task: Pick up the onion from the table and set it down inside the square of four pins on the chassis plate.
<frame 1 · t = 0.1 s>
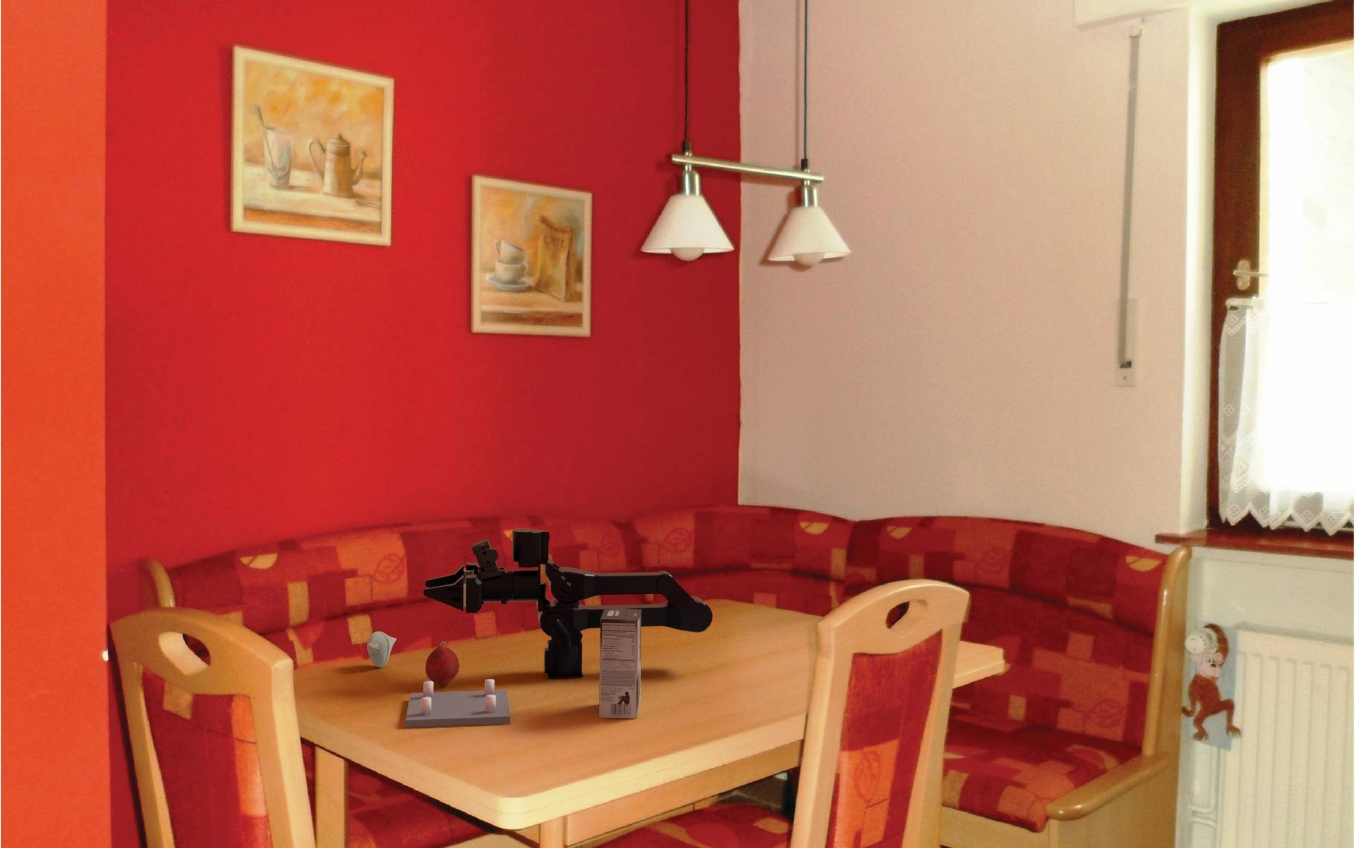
hand: (424, 587, 202), 17 cm above the table, tool horizontal, fingers open, 9 cm apart
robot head: (378, 668, 211), on the table
onion: (442, 688, 197), on the table
chassis plate: (458, 711, 182), on the table
coffee box: (619, 712, 184), on the table
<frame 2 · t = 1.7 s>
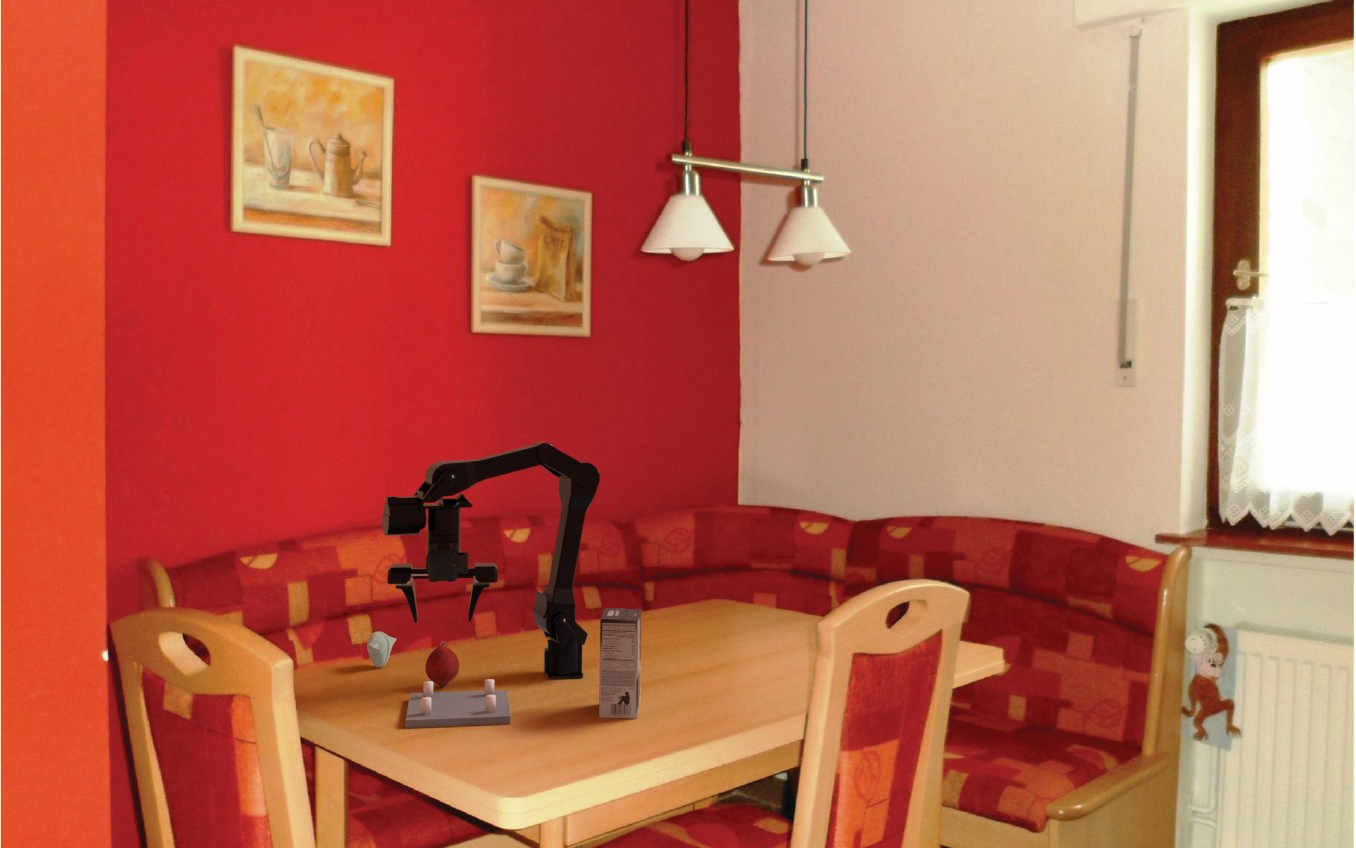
hand: (442, 622, 197), 11 cm above the table, tool pointing down, fingers open, 9 cm apart
nothing on the table moved.
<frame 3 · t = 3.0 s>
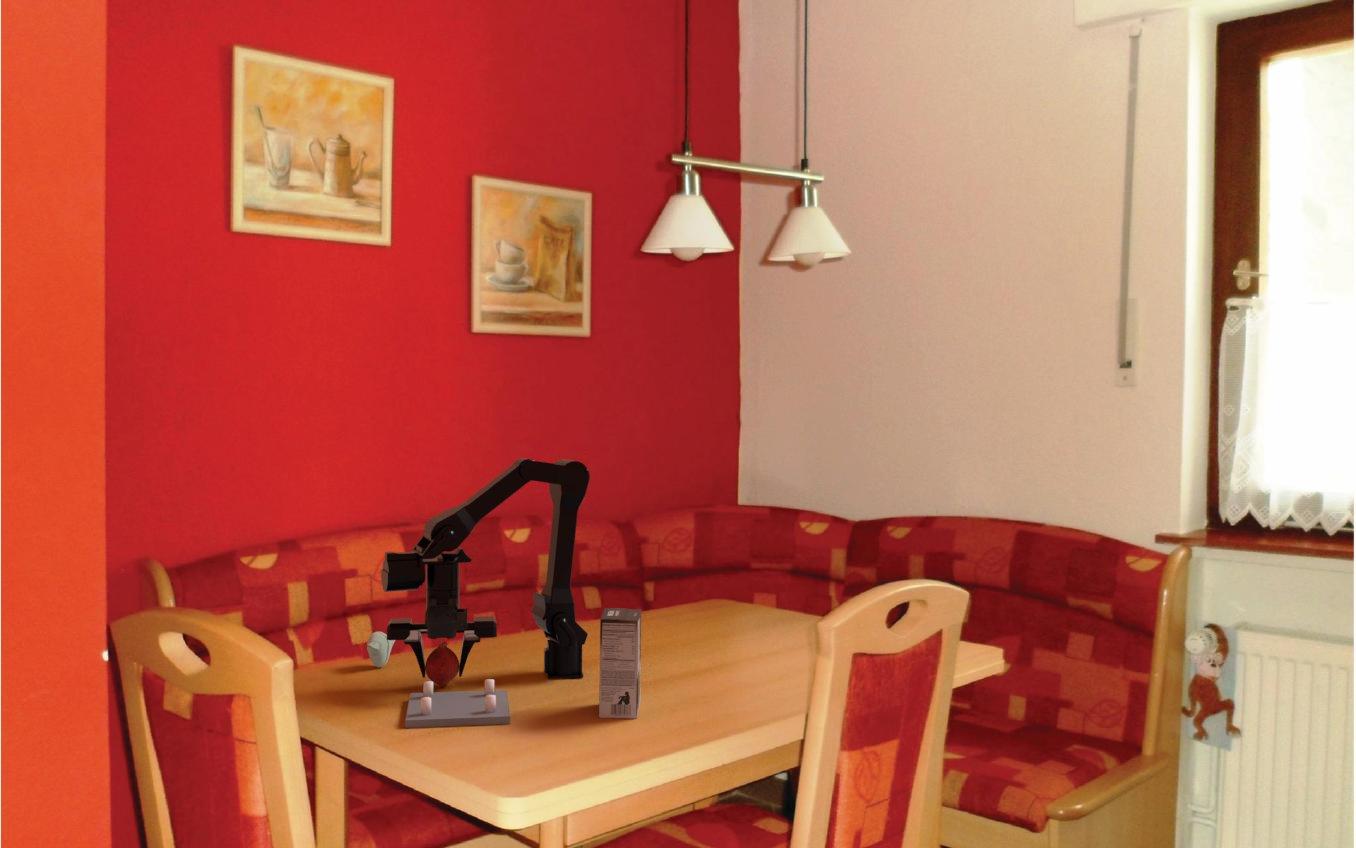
hand: (442, 676, 197), 2 cm above the table, tool pointing down, fingers closed on onion, 6 cm apart
onion: (442, 688, 197), on the table, touching gripper
everything else where it was.
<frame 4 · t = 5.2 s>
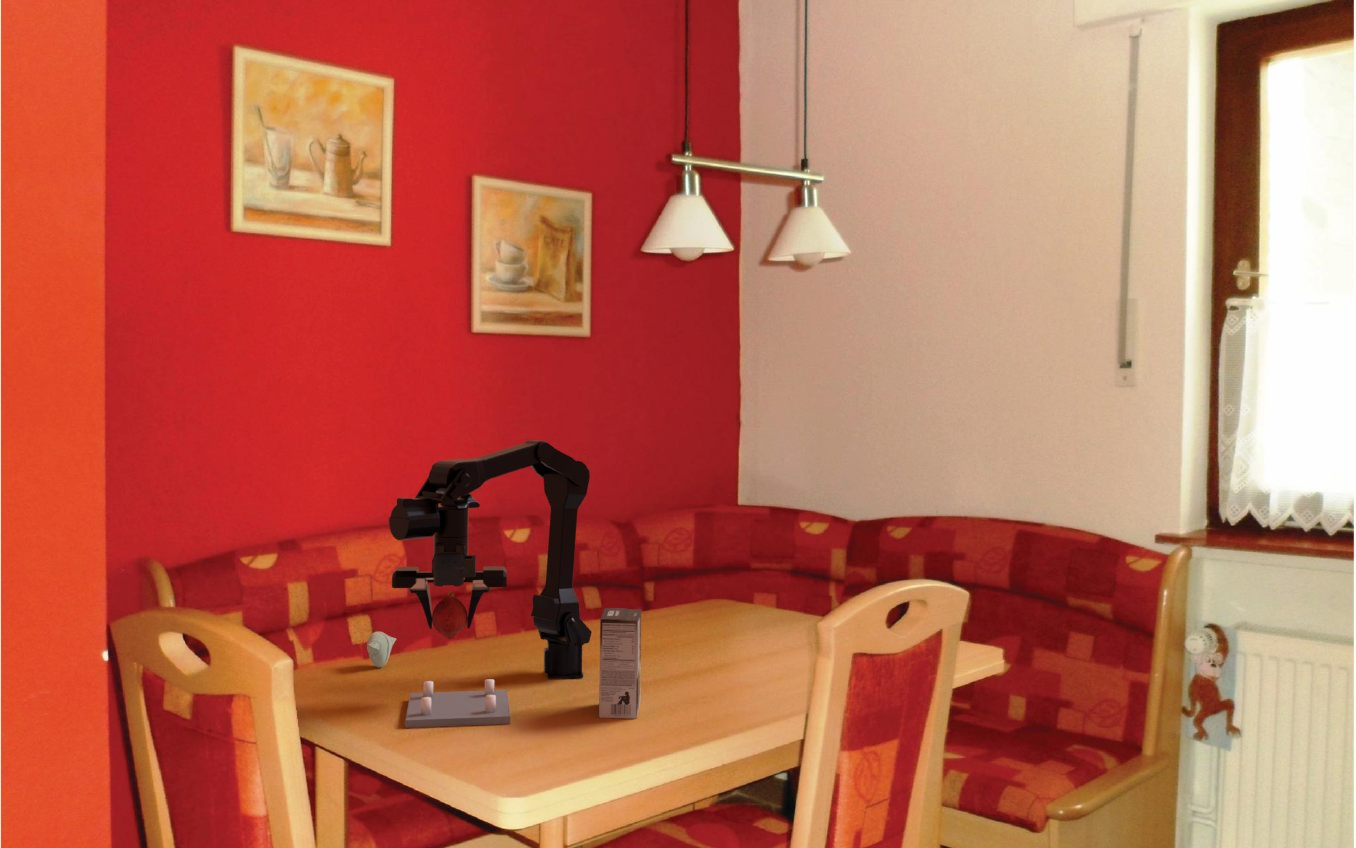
hand: (449, 628, 189), 12 cm above the table, tool pointing down, fingers closed on onion, 6 cm apart
onion: (449, 640, 189), point 10 cm above the table, touching gripper
everything else where it was.
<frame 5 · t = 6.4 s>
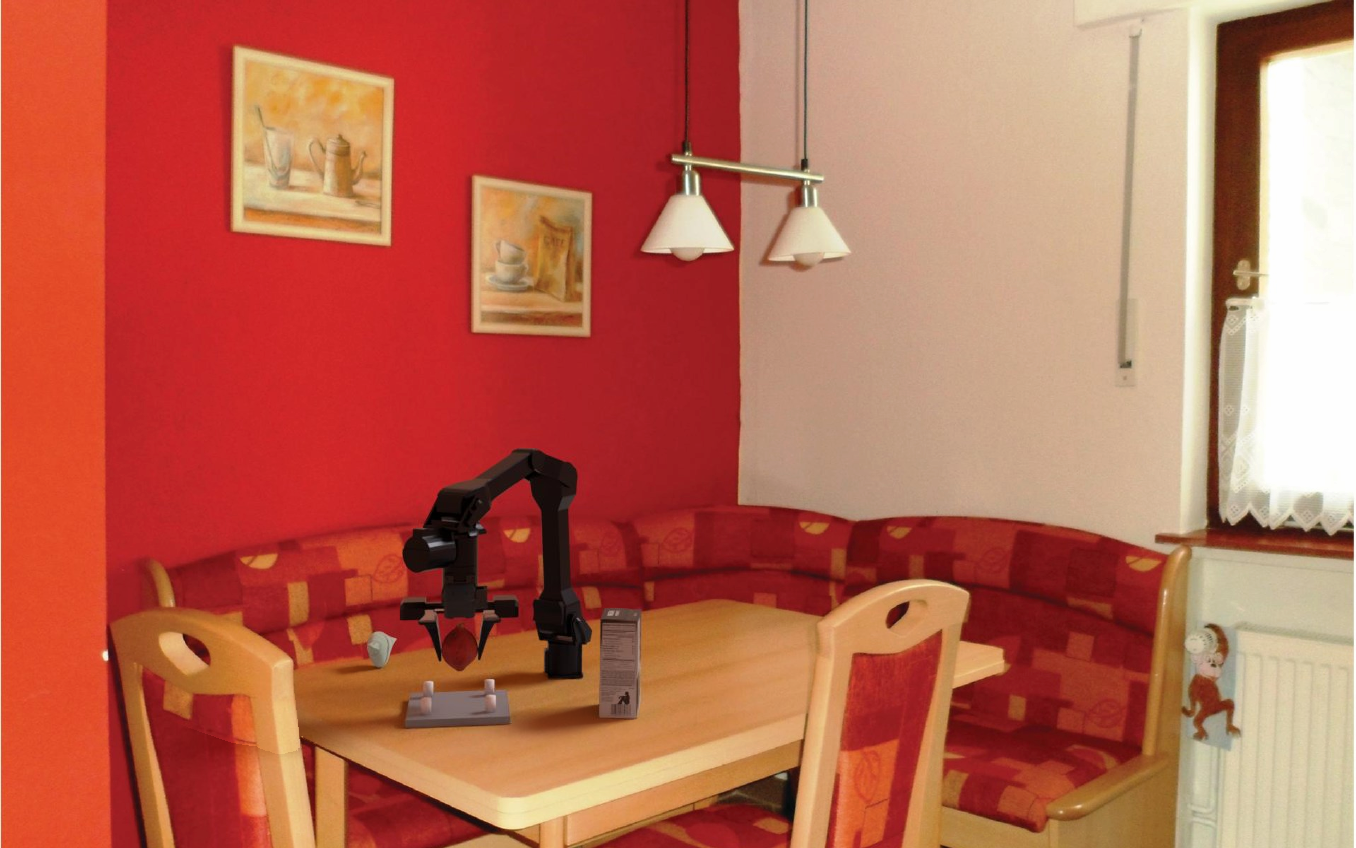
hand: (459, 660, 182), 8 cm above the table, tool pointing down, fingers closed on onion, 6 cm apart
onion: (459, 672, 182), point 6 cm above the table, touching gripper
everything else where it was.
when the fingers open (4 cm above the table, at t = 7.5 s): onion drops 1 cm, resting on chassis plate.
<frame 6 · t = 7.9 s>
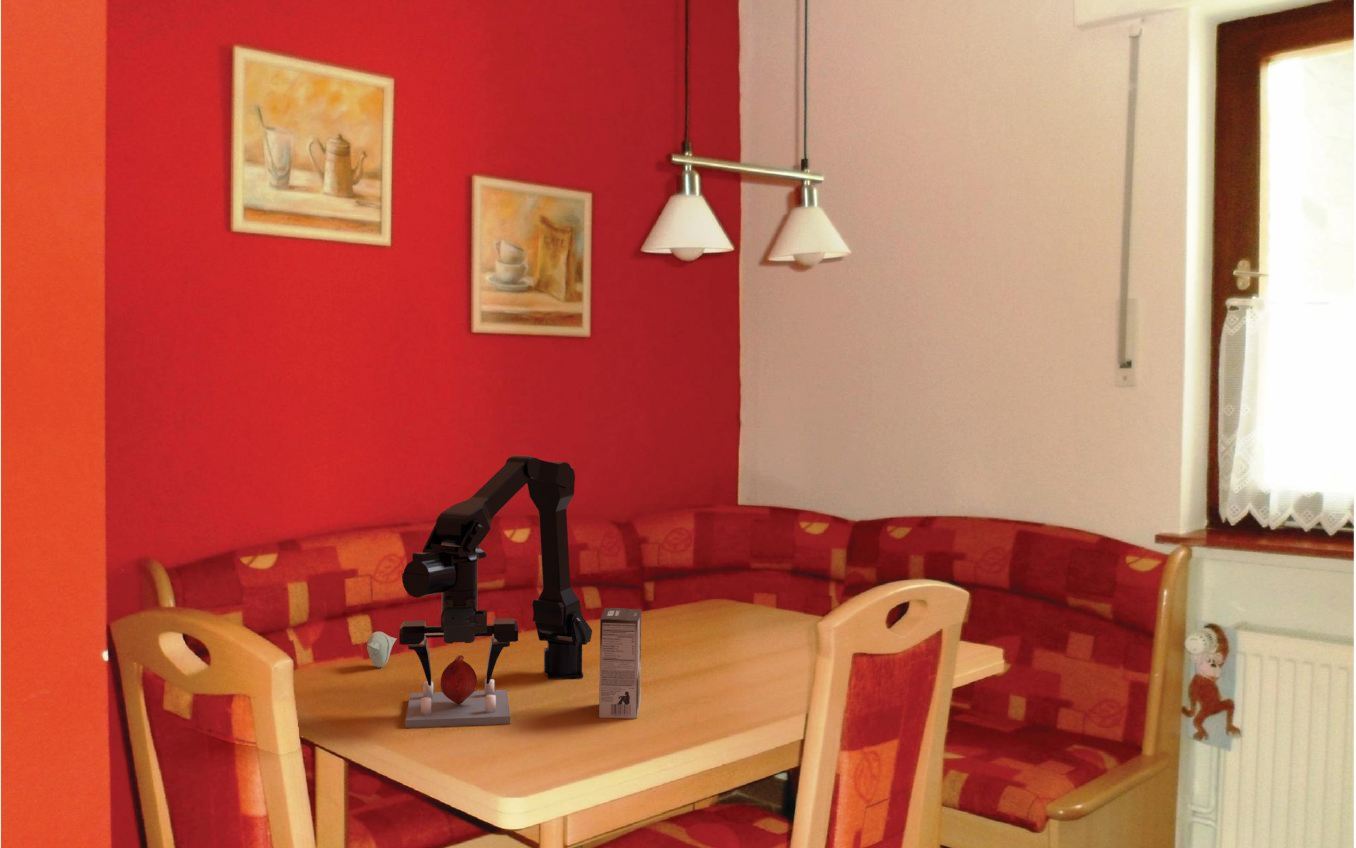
hand: (459, 684, 182), 4 cm above the table, tool pointing down, fingers open, 9 cm apart
onion: (458, 705, 182), point 1 cm above the table, touching chassis plate
everything else where it was.
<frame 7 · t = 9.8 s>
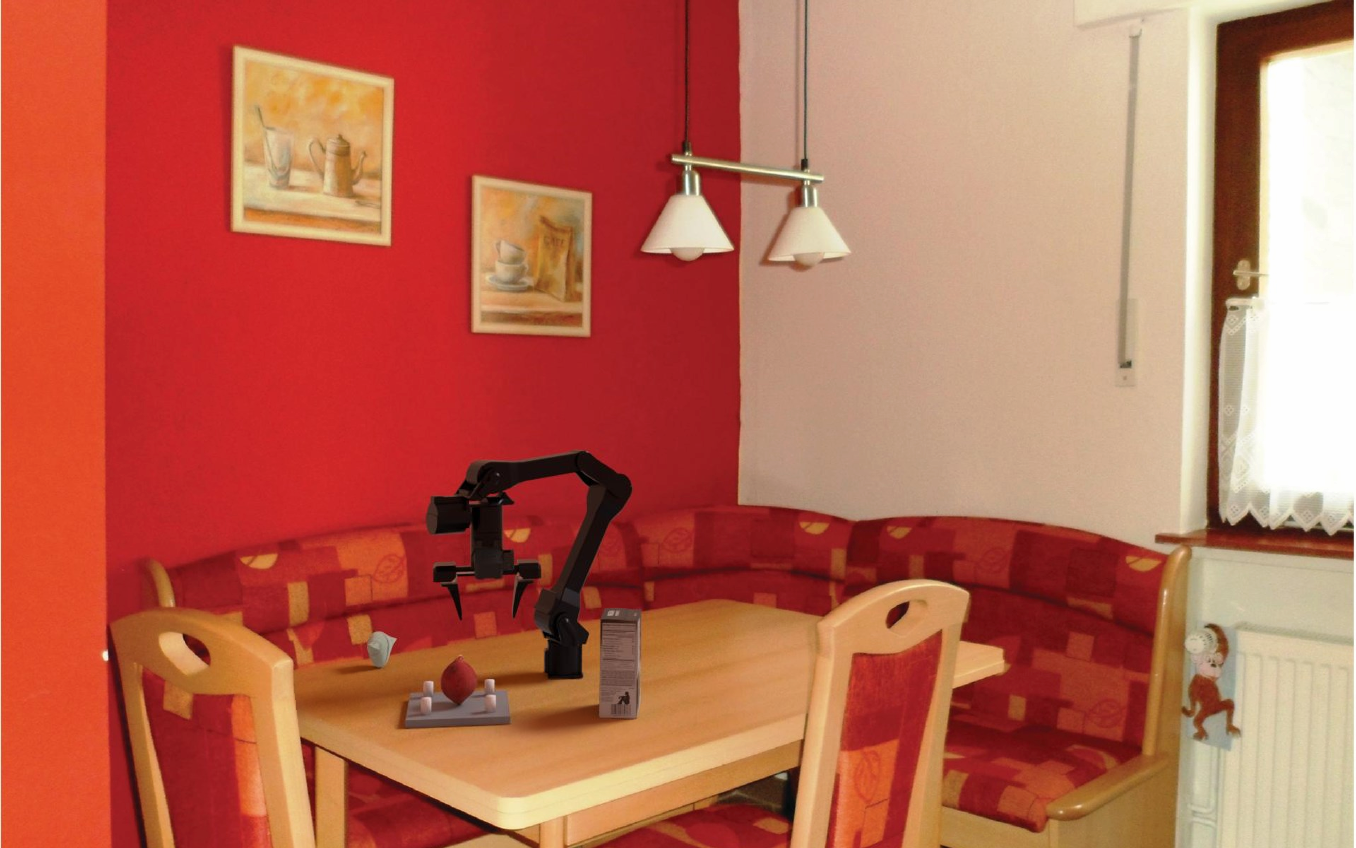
hand: (487, 619, 199), 12 cm above the table, tool pointing down, fingers open, 9 cm apart
nothing on the table moved.
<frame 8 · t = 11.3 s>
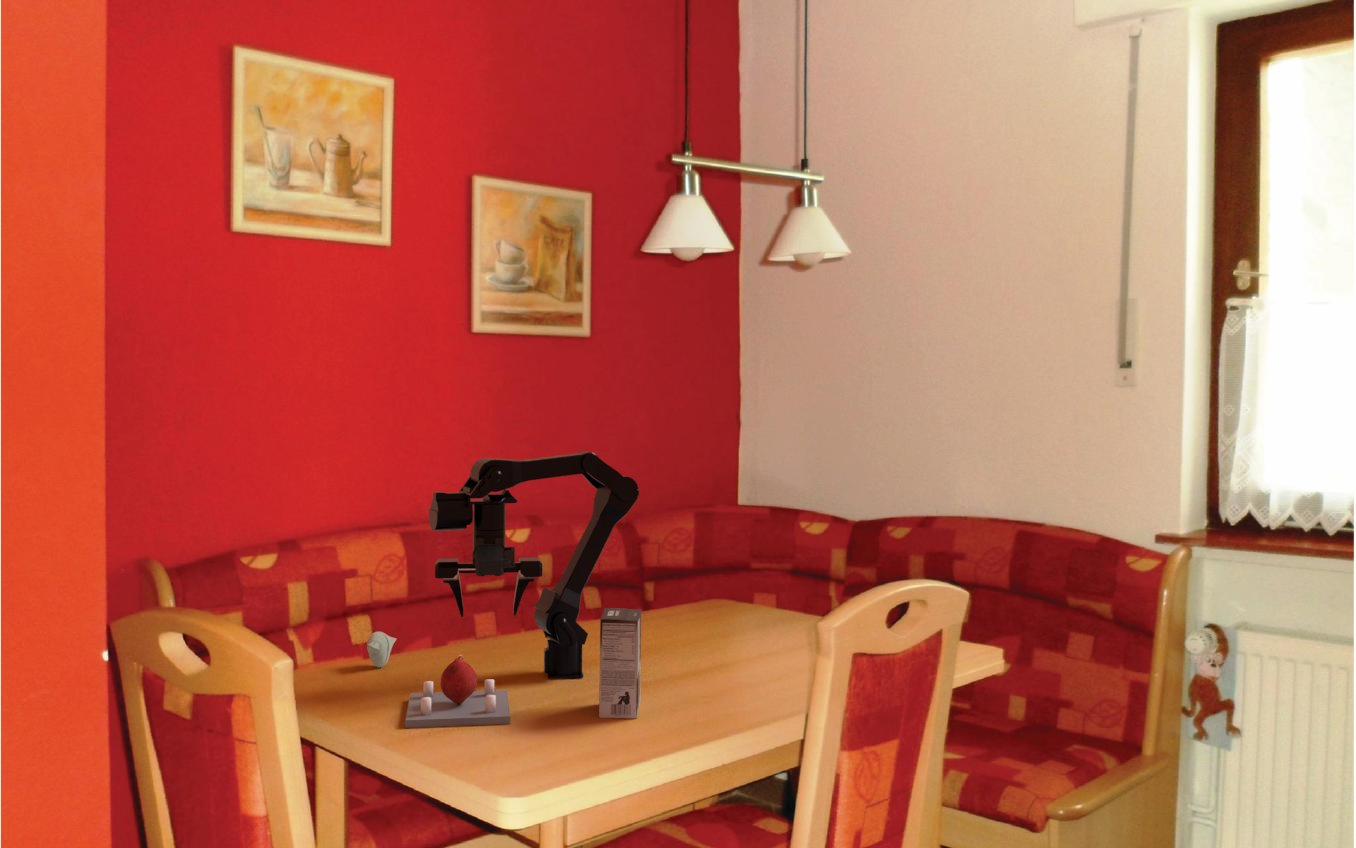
hand: (488, 616, 201), 12 cm above the table, tool pointing down, fingers open, 9 cm apart
nothing on the table moved.
at the end: onion 0.0 cm off-centre on the chassis plate, point 1.0 cm above the chassis plate's base; onion touching chassis plate; the gripper is holding nothing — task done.
